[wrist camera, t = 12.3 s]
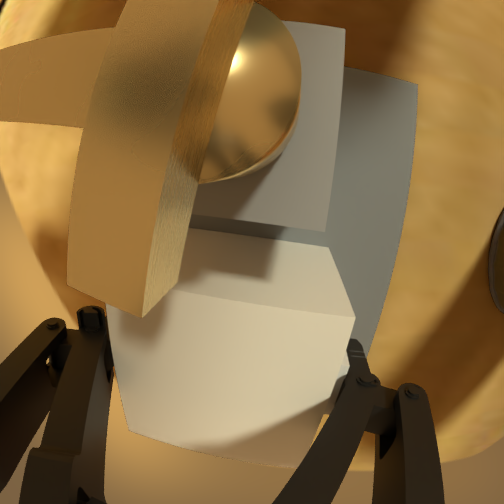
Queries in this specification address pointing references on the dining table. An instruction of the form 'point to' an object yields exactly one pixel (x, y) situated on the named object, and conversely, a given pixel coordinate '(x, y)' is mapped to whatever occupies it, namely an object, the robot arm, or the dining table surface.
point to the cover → (236, 349)
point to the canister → (497, 265)
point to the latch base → (359, 193)
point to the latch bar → (155, 127)
